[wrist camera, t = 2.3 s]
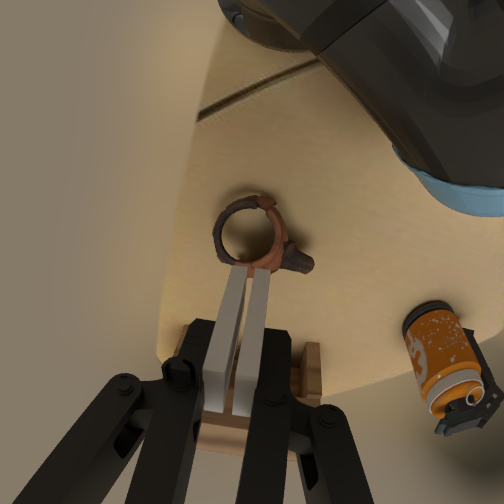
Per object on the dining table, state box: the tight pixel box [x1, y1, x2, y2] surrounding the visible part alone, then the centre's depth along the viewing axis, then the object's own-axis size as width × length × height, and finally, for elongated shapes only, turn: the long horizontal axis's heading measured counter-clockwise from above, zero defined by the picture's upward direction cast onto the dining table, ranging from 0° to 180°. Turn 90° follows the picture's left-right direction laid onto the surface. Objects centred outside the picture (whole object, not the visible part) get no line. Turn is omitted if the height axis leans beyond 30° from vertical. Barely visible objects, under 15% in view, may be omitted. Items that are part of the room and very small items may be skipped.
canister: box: [403, 302, 504, 437], centre depth 35 cm, size 9×11×20 cm
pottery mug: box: [212, 195, 315, 278], centre depth 37 cm, size 12×9×8 cm
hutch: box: [173, 325, 322, 462], centre depth 44 cm, size 10×21×16 cm, turn 85°
